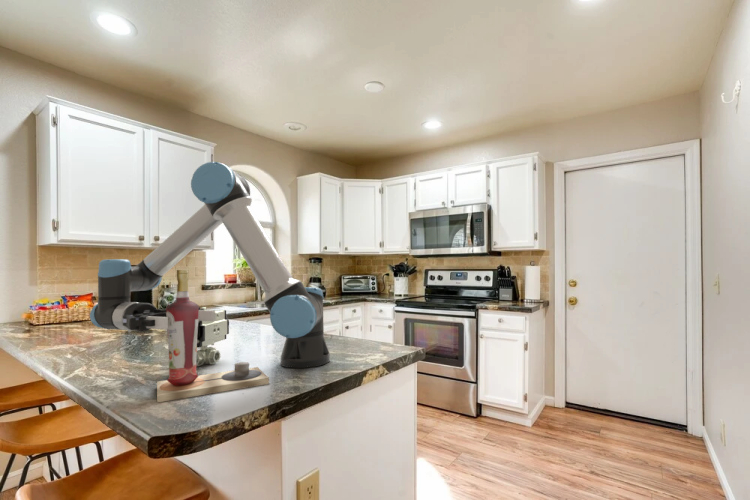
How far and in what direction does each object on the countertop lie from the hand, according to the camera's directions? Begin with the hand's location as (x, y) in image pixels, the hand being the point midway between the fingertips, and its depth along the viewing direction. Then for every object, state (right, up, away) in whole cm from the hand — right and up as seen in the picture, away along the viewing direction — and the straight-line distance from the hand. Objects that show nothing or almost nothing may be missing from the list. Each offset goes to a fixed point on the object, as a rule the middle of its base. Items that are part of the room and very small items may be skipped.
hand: (191, 319), depth 95 cm
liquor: (-3, -16, +1) cm, 17 cm away
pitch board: (+4, -18, +4) cm, 18 cm away
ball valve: (-9, -19, +28) cm, 35 cm away
